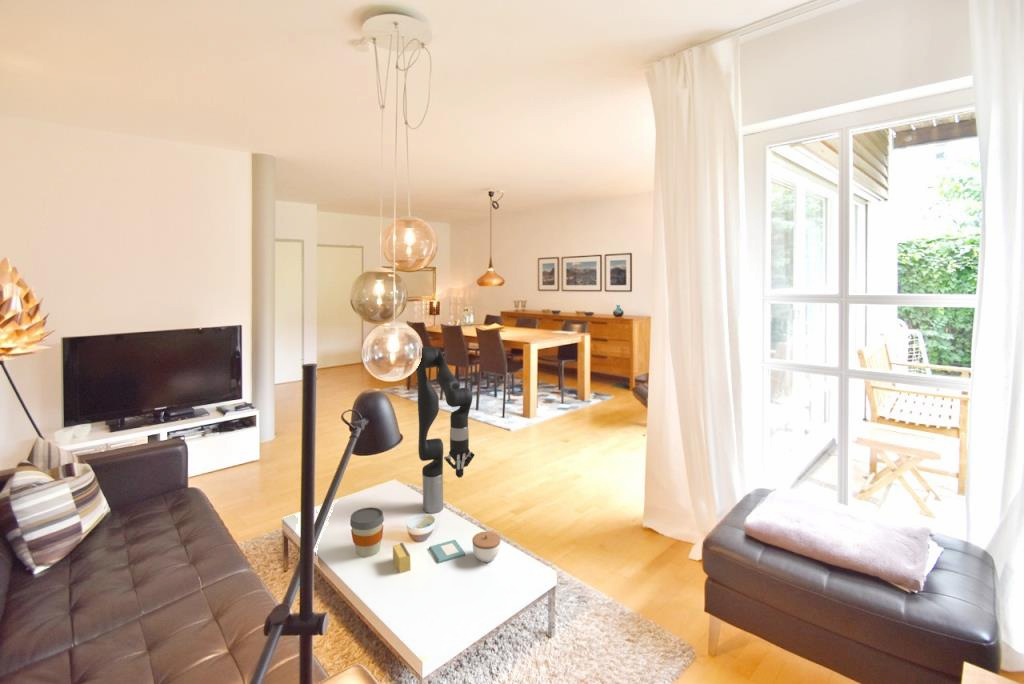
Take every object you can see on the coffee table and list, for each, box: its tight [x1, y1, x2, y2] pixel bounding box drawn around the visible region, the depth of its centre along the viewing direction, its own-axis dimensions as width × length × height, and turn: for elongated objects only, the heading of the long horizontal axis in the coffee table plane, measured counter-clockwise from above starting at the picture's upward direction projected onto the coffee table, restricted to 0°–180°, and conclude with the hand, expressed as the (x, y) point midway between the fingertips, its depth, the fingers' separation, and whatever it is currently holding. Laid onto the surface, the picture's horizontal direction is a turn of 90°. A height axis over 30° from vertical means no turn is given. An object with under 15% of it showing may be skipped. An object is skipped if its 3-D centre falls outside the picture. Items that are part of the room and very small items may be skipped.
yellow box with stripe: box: [392, 542, 412, 574], centre depth 182 cm, size 9×4×6 cm, turn 29°
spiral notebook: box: [428, 539, 467, 564], centre depth 191 cm, size 11×11×1 cm
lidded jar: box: [471, 531, 501, 563], centre depth 187 cm, size 11×11×9 cm
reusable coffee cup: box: [349, 507, 385, 558], centre depth 190 cm, size 13×13×15 cm
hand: (459, 476), depth 199 cm, fingers closed
